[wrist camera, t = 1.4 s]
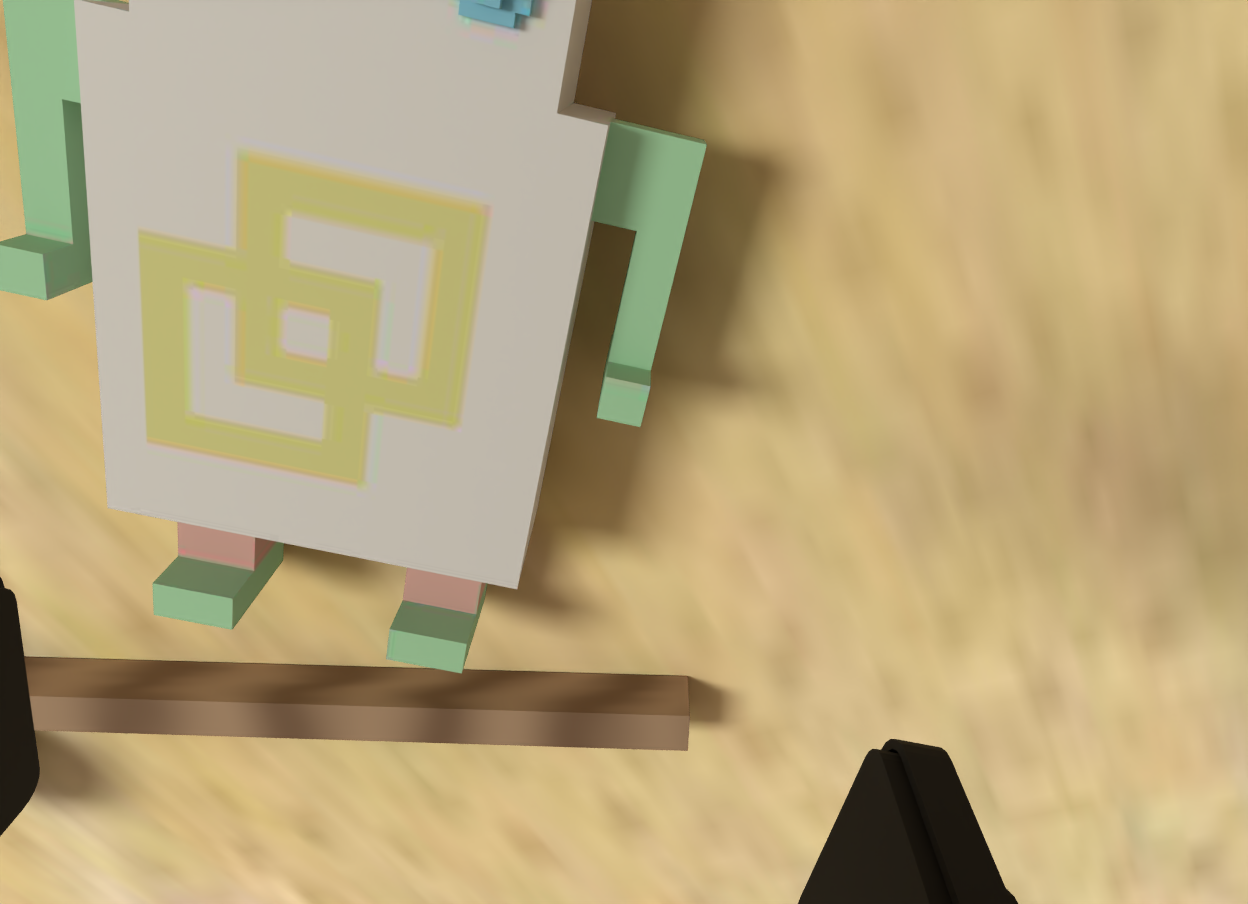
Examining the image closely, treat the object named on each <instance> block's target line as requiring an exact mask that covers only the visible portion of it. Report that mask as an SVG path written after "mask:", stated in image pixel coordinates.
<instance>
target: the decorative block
mask: <svg viewBox="0 0 1248 904" xmlns="http://www.w3.org/2000/svg"><path fill="white" fill-rule="evenodd" d="M591 4H592V0H129V3H127V2H123V1H119V0H3V6H4V16H5V26H6V36H7V46H8V56H9V66H10V76H11V86H12V95H13V105H14V115H15V125H16V135H17V145H18V155H19V165H20V175H21V185H22V195H23V205H24V215H25V225H26V234H25V235H22V236H18V237H15V238H11V239H8V240H4V241H1V242H0V290H1V291H6V292H11V293H15V294H20V295H25V296H29V297H34V298H39V299H43V300H49V299H51V298H54V297H56V296H59V295H61V294H63V293H66V292H68V291H71V290H73V289H76V288H78V287H81V286H83V285H86V284H88V283H91V282H93V295H94V310H95V325H96V340H97V355H98V370H99V385H100V400H101V415H102V430H103V444H104V459H105V474H106V489H107V504H108V508H110V509H115V510H120V511H125V512H130V513H135V514H140V515H145V516H150V517H155V518H160V519H166V520H171V521H176V522H178V557H177V558H176V559H175V560H174V561H173V562H172V563H171V564H170V565H169V567H168V568H167V569H166V570H165V571H164V572H163V573H162V574H161V575H160V576H159V577H158V578H157V579H156V580H155V581H154V582H153V605H154V615H158V616H163V617H168V618H174V619H179V620H184V621H189V622H195V623H200V624H205V625H210V626H216V627H221V628H226V629H231V630H232V629H233V628H234V627H235V625H236V624H237V623H238V621H239V620H240V618H241V617H242V616H243V614H244V613H245V612H246V610H247V609H248V608H249V606H250V605H251V603H252V602H253V601H254V599H255V598H256V597H257V595H258V594H259V592H260V591H261V590H262V588H263V587H264V586H265V584H266V583H267V582H268V580H269V579H270V577H271V576H272V575H273V573H274V572H275V571H276V569H277V568H278V566H279V565H280V564H281V562H282V561H283V551H284V543H286V544H291V545H296V546H301V547H306V548H311V549H317V550H322V551H327V552H332V553H337V554H342V555H347V556H352V557H357V558H362V559H367V560H372V561H377V562H382V563H387V564H392V565H397V566H402V567H407V572H406V580H405V588H404V596H403V601H402V603H401V606H400V608H399V610H398V612H397V614H396V616H395V619H394V621H393V623H392V625H391V627H390V630H389V639H388V648H387V656H386V659H388V660H394V661H399V662H404V663H409V664H414V665H420V666H425V667H430V668H435V669H441V670H446V671H451V672H456V673H462V671H463V668H464V665H465V661H466V658H467V655H468V652H469V648H470V645H471V642H472V639H473V635H474V632H475V629H476V626H477V623H478V619H479V616H480V613H481V610H482V606H483V603H484V600H485V594H486V589H487V583H488V584H493V585H498V586H503V587H508V588H513V589H517V588H518V584H519V580H520V576H521V572H522V568H523V564H524V560H525V556H526V552H527V549H528V545H529V541H530V537H531V533H532V529H533V525H534V521H535V517H536V513H537V508H538V503H539V498H540V493H541V488H542V483H543V478H544V473H545V468H546V463H547V458H548V453H549V448H550V443H551V438H552V433H553V428H554V423H555V418H556V413H557V408H558V403H559V398H560V393H561V388H562V383H563V378H564V373H565V368H566V362H567V357H568V352H569V347H570V342H571V337H572V332H573V327H574V322H575V317H576V312H577V307H578V302H579V297H580V292H581V287H582V282H583V277H584V272H585V267H586V262H587V257H588V252H589V247H590V242H591V237H592V232H593V227H594V222H599V223H604V224H608V225H612V226H617V227H621V228H625V229H630V230H634V231H636V233H635V238H634V242H633V247H632V251H631V256H630V261H629V265H628V270H627V274H626V279H625V283H624V288H623V292H622V297H621V301H620V306H619V310H618V315H617V319H616V324H615V328H614V333H613V335H612V337H611V342H610V346H609V351H608V355H607V360H606V364H605V369H604V374H603V381H602V387H601V393H600V400H599V406H598V413H597V418H600V419H605V420H609V421H614V422H619V423H623V424H628V425H633V426H637V427H641V423H642V419H643V415H644V411H645V407H646V403H647V399H648V395H649V391H650V387H651V368H652V364H653V360H654V356H655V351H656V347H657V343H658V339H659V335H660V331H661V327H662V323H663V319H664V315H665V311H666V307H667V303H668V299H669V295H670V291H671V287H672V283H673V279H674V275H675V271H676V267H677V263H678V259H679V255H680V251H681V247H682V243H683V239H684V235H685V231H686V227H687V223H688V219H689V215H690V211H691V206H692V202H693V198H694V194H695V190H696V186H697V182H698V178H699V174H700V170H701V166H702V162H703V158H704V154H705V150H706V146H707V144H706V142H705V141H704V140H702V139H698V138H694V137H689V136H685V135H681V134H677V133H673V132H669V131H664V130H660V129H656V128H652V127H648V126H643V125H639V124H635V123H631V122H627V121H622V120H618V119H615V117H616V113H614V112H610V111H606V110H602V109H598V108H593V107H589V106H585V105H581V104H577V103H574V99H575V94H576V88H577V83H578V77H579V71H580V66H581V60H582V54H583V49H584V43H585V37H586V32H587V26H588V20H589V15H590V9H591Z"/></svg>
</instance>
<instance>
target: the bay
mask: <svg viewBox="0 0 1248 904" xmlns="http://www.w3.org/2000/svg"><path fill="white" fill-rule="evenodd" d="M24 659H25V666H26V673H27V681H28V688H29V695H30V702H31V709H32V717H33V724H34V730H43V731H75V732H107V733H139V734H171V735H203V736H234V737H266V738H298V739H330V740H362V741H394V742H426V743H458V744H490V745H521V746H553V747H585V748H617V749H649V750H681V751H688V738H689V721H690V711H689V693H688V676H661V675H626V674H592V673H558V672H523V671H489V670H463V671H462V673H456V672H451V671H446V670H441V669H421V668H386V667H352V666H318V665H283V664H249V663H215V662H181V661H146V660H112V659H78V658H43V657H24Z"/></svg>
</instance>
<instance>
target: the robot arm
mask: <svg viewBox="0 0 1248 904" xmlns="http://www.w3.org/2000/svg"><path fill="white" fill-rule="evenodd" d="M39 771H40V767H39V760H38V753H37V746H36V738H35V731H34V724H33V717H32V709H31V702H30V695H29V688H28V681H27V673H26V666H25V659H24V652H23V644H22V637H21V630H20V623H19V616H18V608H17V601H16V598H15V594H14V593H13V592H12V591H11V590H9V589H6V588H5V587H4V584H3V581H2V579H1V577H0V836H1V835H2V834H3V832H4V831H5V830H6V829H7V828H8V826H9V825H10V824H11V823H12V822H13V820H14V819H15V818H16V817H17V816H18V814H19V813H20V812H21V811H22V810H23V808H24V807H25V806H26V804H27V803H28V802H29V800H30V798H31V797H32V795H33V793H34V791H35V788H36V786H37V783H38V779H39ZM798 904H1018V902H1017V901H1016V899H1015V897H1014V896H1013V895H1012V894H1011V893H1010V892H1009V891H1008V890H1007V889H1006V888H1005V886H1004V883H1003V881H1002V878H1001V876H1000V874H999V871H998V869H997V867H996V864H995V862H994V860H993V857H992V855H991V853H990V850H989V848H988V845H987V843H986V841H985V838H984V836H983V834H982V831H981V829H980V827H979V824H978V822H977V820H976V817H975V815H974V812H973V810H972V808H971V805H970V803H969V801H968V798H967V796H966V794H965V791H964V789H963V787H962V784H961V782H960V779H959V777H958V775H957V772H956V770H955V768H954V765H953V763H952V761H951V759H950V757H949V755H948V754H947V752H946V751H945V750H943V749H942V748H940V747H935V746H929V745H924V744H919V743H913V742H908V741H903V740H897V739H890V740H889V741H887V742H886V743H885V744H884V746H883V748H882V749H881V750H878V749H872V750H870V751H869V752H868V754H867V755H866V757H865V759H864V761H863V763H862V765H861V768H860V770H859V772H858V774H857V776H856V778H855V781H854V783H853V785H852V787H851V789H850V791H849V794H848V796H847V798H846V800H845V802H844V804H843V806H842V809H841V811H840V813H839V815H838V817H837V819H836V822H835V824H834V826H833V828H832V830H831V832H830V835H829V837H828V839H827V841H826V843H825V845H824V847H823V850H822V852H821V854H820V856H819V858H818V860H817V863H816V865H815V867H814V869H813V871H812V873H811V876H810V878H809V880H808V882H807V884H806V886H805V888H804V891H803V893H802V895H801V897H800V900H799V903H798Z"/></svg>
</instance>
